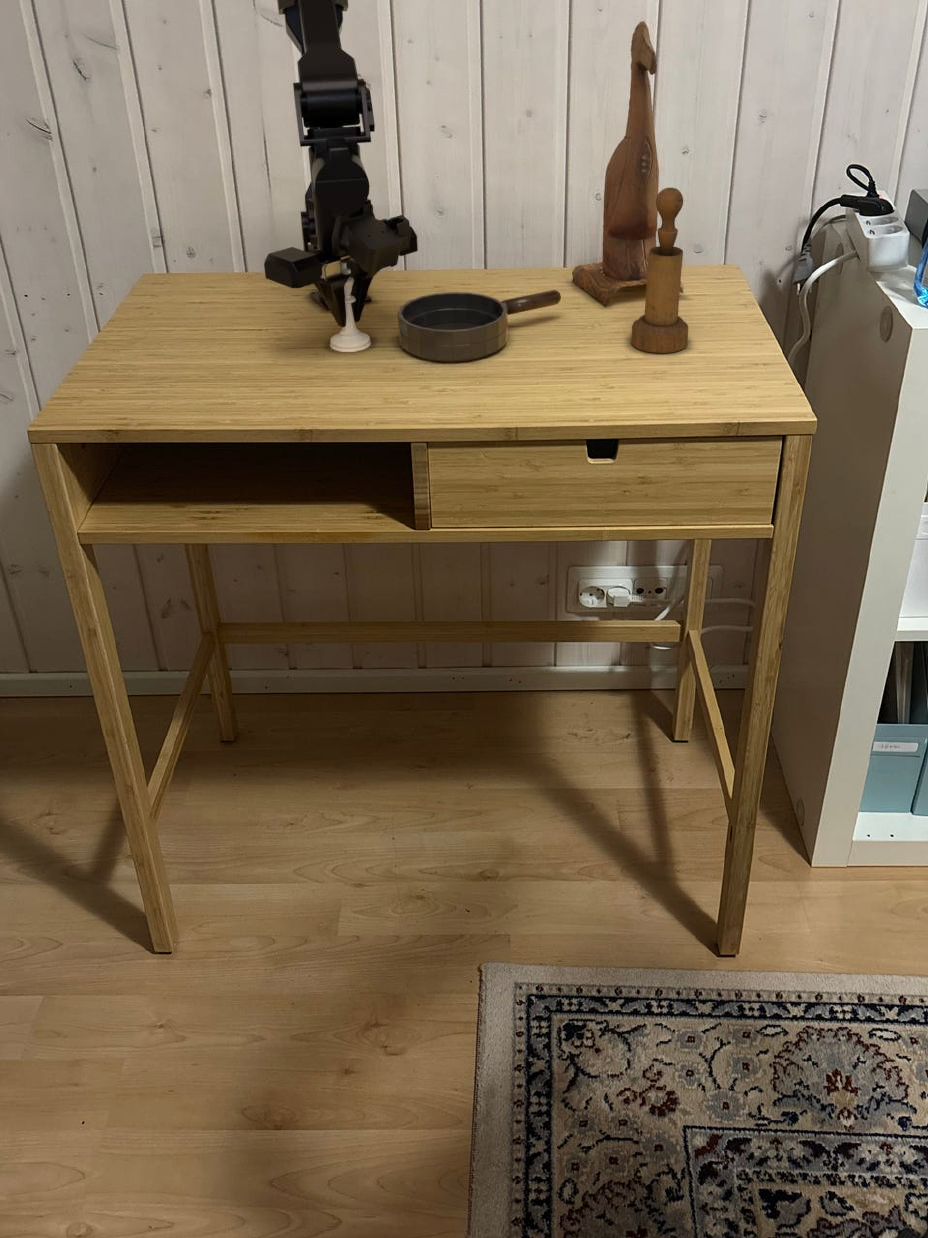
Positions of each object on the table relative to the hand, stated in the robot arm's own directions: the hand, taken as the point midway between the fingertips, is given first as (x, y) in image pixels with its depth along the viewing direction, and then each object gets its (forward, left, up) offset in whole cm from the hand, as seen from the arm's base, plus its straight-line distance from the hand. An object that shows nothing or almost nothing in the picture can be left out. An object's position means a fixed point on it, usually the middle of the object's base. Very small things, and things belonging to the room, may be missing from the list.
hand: (348, 323), depth 141 cm
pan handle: (+6, +21, -1) cm, 22 cm away
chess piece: (0, 0, -3) cm, 3 cm away
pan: (+6, +11, -3) cm, 13 cm away
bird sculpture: (+1, +39, -3) cm, 39 cm away
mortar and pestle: (+19, +32, -3) cm, 37 cm away
